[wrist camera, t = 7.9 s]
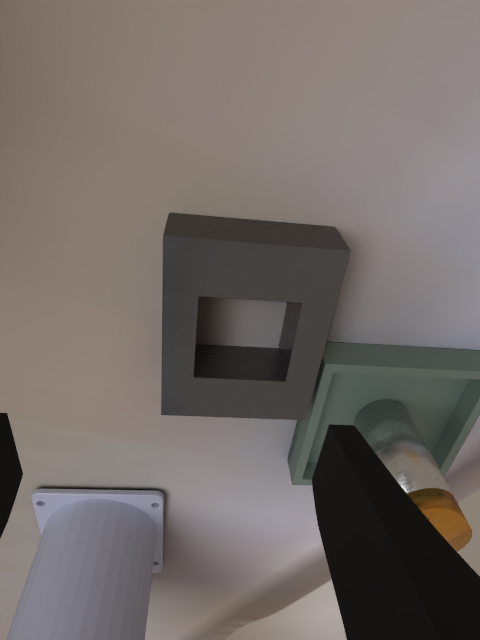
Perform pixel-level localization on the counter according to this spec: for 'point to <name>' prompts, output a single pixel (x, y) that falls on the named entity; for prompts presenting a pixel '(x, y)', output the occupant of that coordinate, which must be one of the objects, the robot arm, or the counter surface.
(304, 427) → the tray
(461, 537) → the small bottle
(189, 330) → the block
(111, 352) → the counter surface
